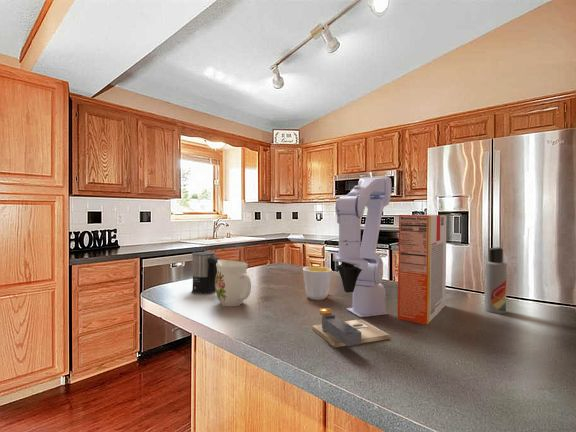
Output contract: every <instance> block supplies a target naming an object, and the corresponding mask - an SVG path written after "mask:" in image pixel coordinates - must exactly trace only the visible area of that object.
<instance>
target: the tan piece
mask: <svg viewBox="0 0 576 432" xmlns="http://www.w3.org/2000/svg"><path fill="white" fill-rule="evenodd" d="M321 316H322V317H324V315H321ZM322 317H321V318H322ZM343 321H344V320H343ZM344 322H346V323H347V324H349V325H350V326H352V327H354V328H355V329H357V330H359V331H360V332H361V344H364V343H371V342H377V341H383V340H389V339H390V334H389V333H387V332H385V331H384V330H382V329H379V328H378V327H376V326H375V325H372V324H371V323H369V322H367V321H366V320H364V319H363V318H362V319H361V318H359V319H354V320H353V319H352V320H346V321H344ZM312 330H313V331H314V332H315V333H316V334H317V335H318V336H320V337H321V338H322V339H324V341H325V342H327V343H329V344H330V345H331V346H332V347H333V348H340V347H341V348H342V347H347V346H346V345H345V344H344V343H342V342H341V341H340V340H338V339H337V338H335V337H334V336H333V335H331V334H330V333H329V332H327V331H326V330H324V329H323V328H322V323H321V324H314V325H312Z"/></svg>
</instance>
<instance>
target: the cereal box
mask: <svg viewBox="0 0 576 432" xmlns="http://www.w3.org/2000/svg"><path fill="white" fill-rule="evenodd" d="M447 217H448V216H447V214H399V216H398V264H397V265H398V272H397V275H398V276H397V277H398V278H397V280H398V281H397V282H398V283H397V319H399V320H404V321H409V322H413V323H419V324H423V325H428V324H429V323H430V322H431V321H432V320H433V319H434V318H435V317H436V316H437V315H438V314H439V313H440V312H441V311H442V310H443V309H444V308H445V306H446V292H447V291H446V288H447V287H446V282H447V281H446V279H447V277H446V276H447V221H448V220H447ZM442 308H443V309H442ZM441 309H442V310H441Z"/></svg>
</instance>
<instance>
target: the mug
mask: <svg viewBox="0 0 576 432" xmlns="http://www.w3.org/2000/svg"><path fill="white" fill-rule="evenodd" d="M332 271H333V270H332V268H330V267H327V266H305V267H302V272H303V273H302V275H303V280H304V288H305V294H306V296H307V297H308V299H310V300H314V301H316V300H317V301H322V300H324V299H326V298H327V296H328V295H329V289H330V283H331V278H332Z"/></svg>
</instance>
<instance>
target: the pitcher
mask: <svg viewBox="0 0 576 432" xmlns="http://www.w3.org/2000/svg"><path fill="white" fill-rule="evenodd" d="M216 267H217V274H216V278H215V290H216V291H215V294H216V296H217V300H218V301H219V303H220V304H221V306H223V305H224V307H236V305H238V306H240V304H241V305H242V304H243V302H244V301H245V300H248V298H249V297H250V295H251V291H252V290H251V289H252V281H251V278H250V276H249V275H248V273H247V269H248V263H247V262H245V261H244V262H243V261H237V260H229V259H220V260H217V263H216Z"/></svg>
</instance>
